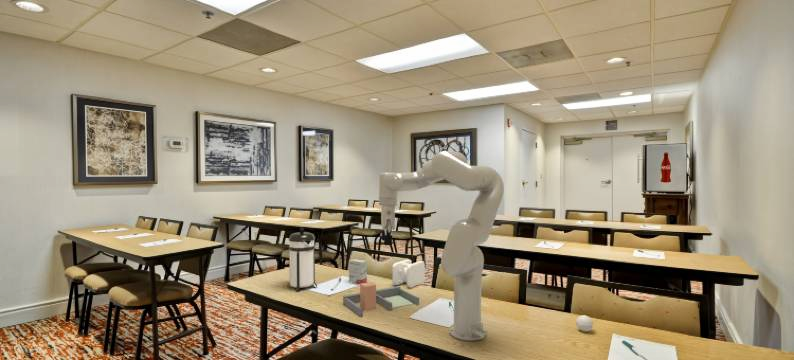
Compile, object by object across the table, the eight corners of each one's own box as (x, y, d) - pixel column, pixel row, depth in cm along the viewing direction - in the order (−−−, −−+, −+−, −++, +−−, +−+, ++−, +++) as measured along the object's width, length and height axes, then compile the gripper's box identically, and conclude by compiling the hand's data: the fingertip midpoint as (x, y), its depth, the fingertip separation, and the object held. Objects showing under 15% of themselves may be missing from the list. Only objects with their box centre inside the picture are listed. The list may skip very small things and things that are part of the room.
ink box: (367, 282, 201) (367, 260, 201) (361, 285, 197) (361, 262, 197) (354, 280, 206) (354, 258, 206) (348, 282, 202) (348, 260, 202)
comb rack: (419, 304, 168) (419, 296, 168) (360, 316, 154) (360, 308, 154) (398, 293, 184) (398, 286, 184) (343, 303, 170) (343, 295, 170)
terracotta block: (376, 308, 164) (375, 284, 164) (365, 310, 161) (365, 286, 161) (370, 304, 168) (370, 282, 168) (360, 307, 166) (360, 283, 165)
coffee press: (322, 283, 201) (321, 225, 200) (311, 292, 185) (310, 230, 185) (290, 281, 204) (290, 225, 203) (276, 291, 188) (276, 229, 187)
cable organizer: (408, 290, 189) (408, 266, 189) (391, 286, 196) (391, 263, 195) (425, 282, 201) (425, 260, 201) (408, 279, 208) (408, 258, 207)
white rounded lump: (578, 326, 144) (578, 311, 144) (594, 330, 140) (594, 315, 140) (572, 333, 138) (572, 317, 138) (589, 337, 134) (589, 321, 134)
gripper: (399, 204, 154) (398, 247, 155) (394, 199, 171) (393, 238, 172) (380, 204, 153) (379, 247, 154) (377, 199, 170) (376, 238, 171)
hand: (386, 242), depth 163 cm, fingers open, 9 cm apart
